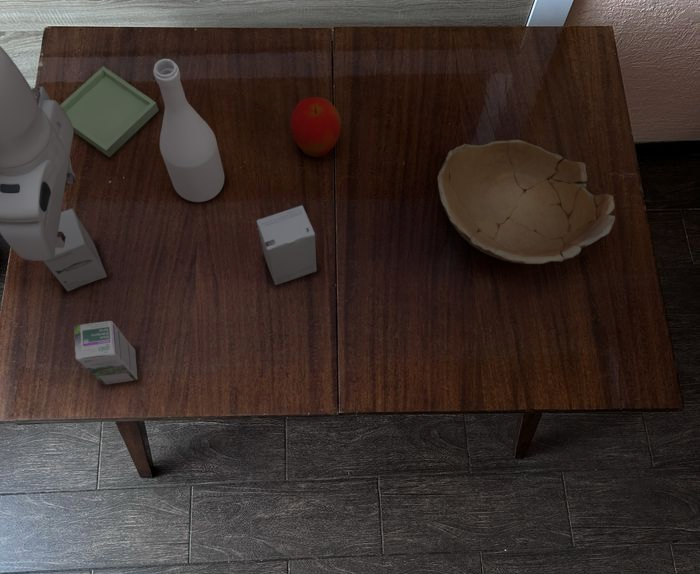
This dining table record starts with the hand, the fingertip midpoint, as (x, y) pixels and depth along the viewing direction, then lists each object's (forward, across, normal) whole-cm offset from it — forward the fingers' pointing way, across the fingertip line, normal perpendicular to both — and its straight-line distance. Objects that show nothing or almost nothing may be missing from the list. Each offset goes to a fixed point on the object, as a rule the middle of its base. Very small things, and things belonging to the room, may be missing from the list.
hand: (64, 211), depth 93 cm
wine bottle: (+29, -23, +12) cm, 39 cm away
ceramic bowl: (+29, -17, +69) cm, 77 cm away
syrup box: (+29, +13, +1) cm, 32 cm away
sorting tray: (+29, -38, -7) cm, 48 cm away
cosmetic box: (+29, -6, +29) cm, 41 cm away
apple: (+29, -32, +33) cm, 54 cm away
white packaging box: (+29, -5, -8) cm, 30 cm away
